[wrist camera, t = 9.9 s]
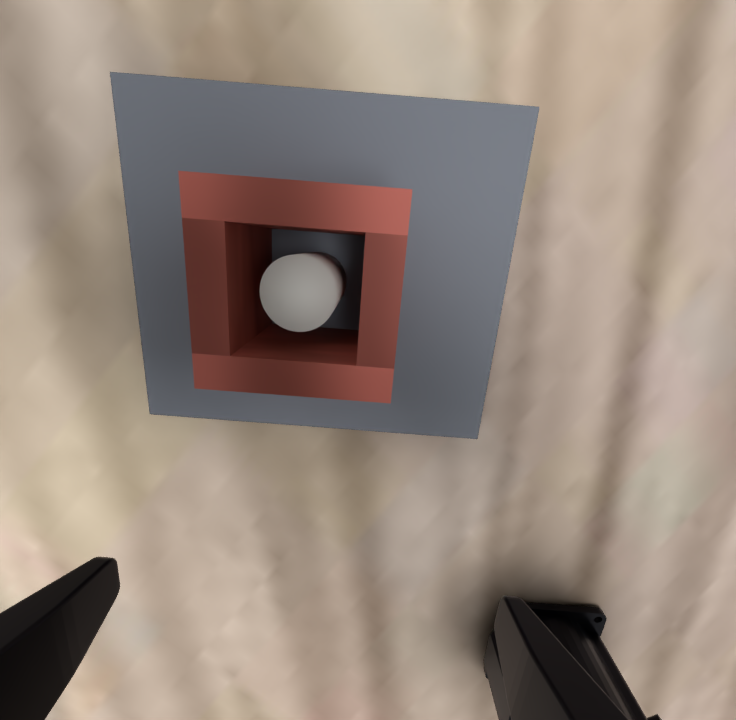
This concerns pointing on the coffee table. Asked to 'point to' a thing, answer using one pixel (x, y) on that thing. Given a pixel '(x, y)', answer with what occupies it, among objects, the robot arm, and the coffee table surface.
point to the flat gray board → (331, 235)
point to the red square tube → (251, 259)
